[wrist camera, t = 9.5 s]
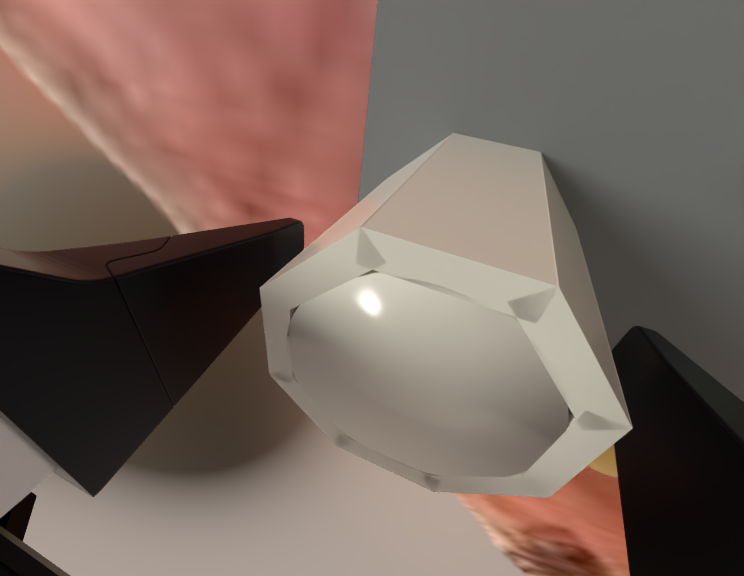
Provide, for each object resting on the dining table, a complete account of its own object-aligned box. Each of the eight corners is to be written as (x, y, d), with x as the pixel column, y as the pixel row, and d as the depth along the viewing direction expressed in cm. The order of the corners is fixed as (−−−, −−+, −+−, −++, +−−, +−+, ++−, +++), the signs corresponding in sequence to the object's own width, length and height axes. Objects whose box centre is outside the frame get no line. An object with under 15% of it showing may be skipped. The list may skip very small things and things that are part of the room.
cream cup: (609, 166, 9) (739, 340, 3) (518, 325, 12) (511, 528, 7) (397, 120, 10) (248, 192, 5) (372, 276, 14) (274, 416, 8)
